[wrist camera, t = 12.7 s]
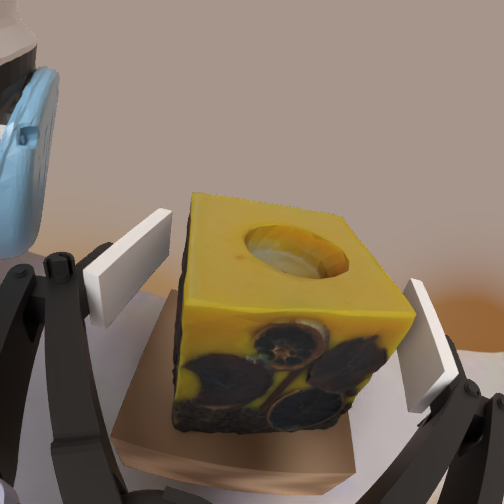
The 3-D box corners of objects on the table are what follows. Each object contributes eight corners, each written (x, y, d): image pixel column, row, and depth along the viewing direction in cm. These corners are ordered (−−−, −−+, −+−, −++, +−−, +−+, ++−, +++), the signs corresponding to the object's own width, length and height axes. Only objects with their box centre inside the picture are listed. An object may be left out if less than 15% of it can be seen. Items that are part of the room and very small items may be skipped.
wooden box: (124, 468, 16) (110, 436, 13) (169, 337, 28) (171, 289, 25) (318, 497, 16) (355, 472, 13) (309, 364, 29) (331, 321, 26)
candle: (175, 313, 23) (187, 188, 18) (300, 322, 25) (341, 212, 20) (168, 435, 14) (168, 301, 9) (336, 430, 16) (423, 314, 11)
